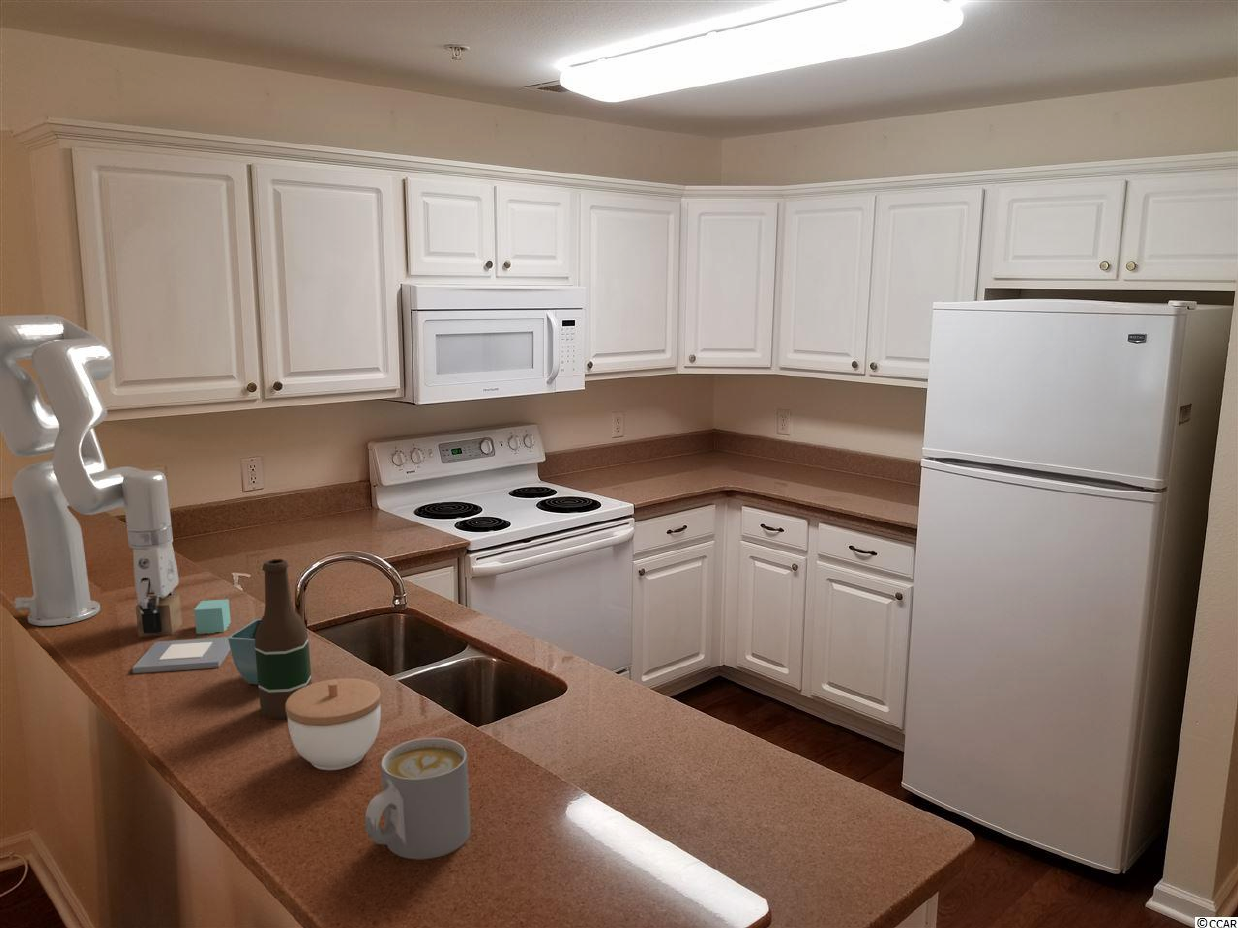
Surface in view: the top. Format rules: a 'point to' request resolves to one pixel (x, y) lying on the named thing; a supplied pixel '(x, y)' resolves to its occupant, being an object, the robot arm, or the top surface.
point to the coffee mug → (422, 799)
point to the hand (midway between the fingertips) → (160, 624)
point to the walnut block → (163, 616)
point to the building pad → (184, 655)
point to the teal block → (212, 616)
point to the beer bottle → (280, 644)
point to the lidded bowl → (334, 721)
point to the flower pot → (245, 651)
